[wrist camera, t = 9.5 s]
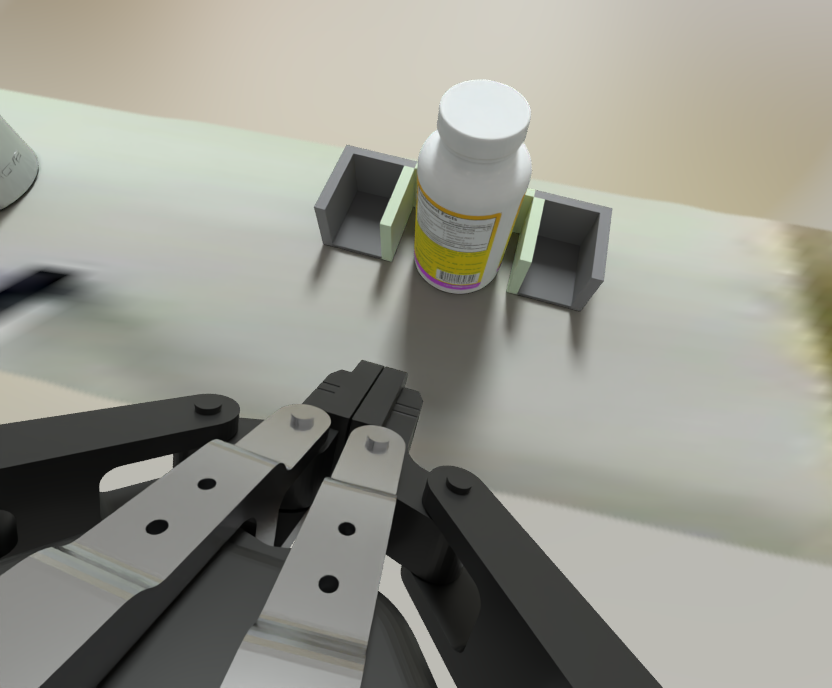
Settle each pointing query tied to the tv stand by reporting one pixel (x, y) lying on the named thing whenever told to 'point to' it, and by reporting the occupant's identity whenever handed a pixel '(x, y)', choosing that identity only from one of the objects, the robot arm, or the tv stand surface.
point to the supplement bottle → (471, 185)
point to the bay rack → (536, 222)
